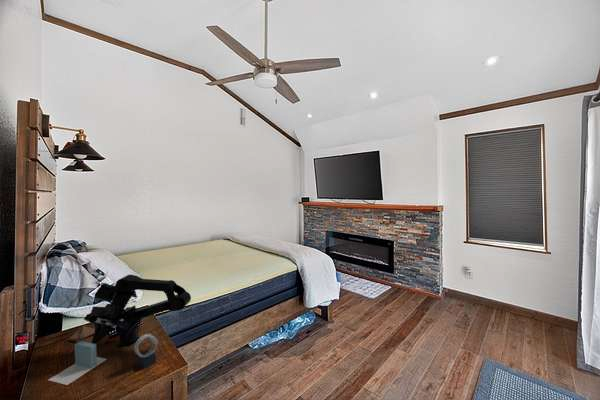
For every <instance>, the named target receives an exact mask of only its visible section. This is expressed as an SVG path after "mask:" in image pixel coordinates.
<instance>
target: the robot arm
mask: <svg viewBox="0 0 600 400" xmlns="http://www.w3.org/2000/svg"><path fill="white" fill-rule="evenodd" d="M137 290H139V291H152V292H153V291H154V292H163V293H164V294H165V296H166V300H161V301H159V302H156V303H152V304H149V305H146V306H143V307H139V308H137V307H136V305H135V304H134V305H133V306H127V305H128V303H129V302H130V300H131V298H135V299H136V298H138V296H137ZM175 293H176V294H175ZM94 298H95V299H96V300H100V301H104V302H106V303H107V304H105V306H92V309H91V311H90V313H88V314H86V315H85V317H84V318H83V320H84V321H86V322H88V323H91V324H93V326H94V329H95V332H94V336H93V339H92V342H91V343H93V344H96V343H97V342H99V341H100V340H101V339H102V338H104V337H105V336H106V335H108V334H111V333H112V332H113V331H116V333H117V334H119V338H118V339H119V340H118V342H117V346H123V347H127V348H128V347H131V346H132V345H135V343H136V341H137V340H138V339H139V338H140V337H141V336H140V337H139V325H140V324H141V322H142V319H144V318H148V317H150V316H154V315H157V314H160V313H163V312H168V311H170V312H178V311H181V310H183V309H184V308H186V306H187V305H188V304H189V303H190V302H191V301H192V297H191V293H189V292H188V291H187V290H185V289H184V287H182V286H181V285H178V283H176V281H174V280H172V279H167V280H165V279H151V278H150V279H149V278H141V277H140V276H138V275H134V274H127V275H125V276H123V277H121V278H119V279H118V280H116V282H115V284H114V285H112V284H108V283H106V282H105V283H104V282H103V283H102V284H100V287H98V289H97V290H96V292H95V293H94Z"/></svg>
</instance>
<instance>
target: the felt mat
mask: <svg viewBox="0 0 600 400" xmlns="http://www.w3.org/2000/svg"><path fill="white" fill-rule="evenodd" d="M106 360H107V358H104V357H99V356H97V365H96V366H94V367H93V368H88V367H84V366H80V365H75V363H74V364H72V365H71V366H69V367H67V368H66V369H63V370H62V371H60V372H59V373H57V374H55V375H54V376H52V377H50V378H49V379H48V381H49V382H54V383H57V384H61V385H65V386H68V385H69V384H71V383H73V382H74V381H76V380H78V379H79V378H80V377H82V376H83V375H85V374H86V373H88V372H89V371H91V370H92V369H94V368H96V367H97V366H99V365H100V364H102V363H104V362H105V361H106Z"/></svg>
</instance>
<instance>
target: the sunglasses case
mask: <svg viewBox="0 0 600 400" xmlns="http://www.w3.org/2000/svg"><path fill="white" fill-rule="evenodd" d="M94 332H95V327H89V326H86V325H84V324H83V325H82V326H81V328H79V329H78V330H77V331H76V332H74V333H73V334H72V335H71V336H70V337H69V338H67V339H66V340H65V341H66V342H72V343H75V344H76V343H77V342H79V341H83V342H88V343H91V342H92V339H93V336H94ZM111 338H112V335H111V333H109V334H108V335H106V336H105V337H104V338H102V339H101V340H100V341H99V342H97V343H96V346H98V345H100V344H102V343H104V342H106V341H108V340H109V339H111Z"/></svg>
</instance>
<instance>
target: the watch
mask: <svg viewBox="0 0 600 400" xmlns="http://www.w3.org/2000/svg"><path fill="white" fill-rule="evenodd" d="M145 339H147V340H148V341H149V343H151V344H152V346H151V348H150V349H147V350H146V351H143V352H140V350H139V345H140V344H141V342H143V340H145ZM158 343H159V340H158V339H157V338H156V336H154V335H152V333H145V334H143V335H141V336H140V338H139V339H138V340H137V341H136V342H135V343H134V347H133V351H134V353H135V354H136V364H137V365H139V367H140V368H142V369H143V370H146V369H147V368H149V367H151V366H153V365H155V364H156V363H157V361H156V360H157V359H156V358H157V356H156V354H155V353H154V352H155V350H156V349H157V346H158Z"/></svg>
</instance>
